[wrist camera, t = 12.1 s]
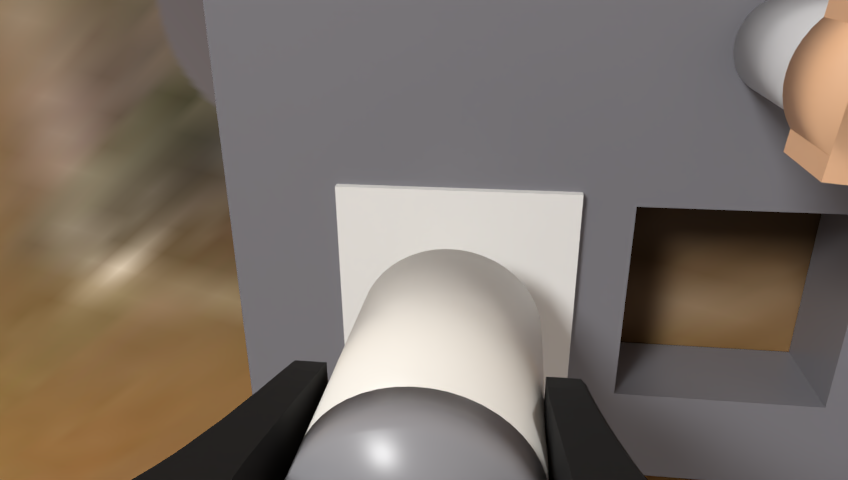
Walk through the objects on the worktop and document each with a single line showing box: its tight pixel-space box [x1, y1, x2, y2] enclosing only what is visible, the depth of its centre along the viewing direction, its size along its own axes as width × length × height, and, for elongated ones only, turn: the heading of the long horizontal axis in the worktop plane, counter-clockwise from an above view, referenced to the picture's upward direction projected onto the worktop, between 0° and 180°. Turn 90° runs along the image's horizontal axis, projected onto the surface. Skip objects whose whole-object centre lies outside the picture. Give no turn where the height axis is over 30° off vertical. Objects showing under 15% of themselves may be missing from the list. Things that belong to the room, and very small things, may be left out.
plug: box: [285, 249, 549, 480], centre depth 13 cm, size 4×4×6 cm
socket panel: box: [203, 0, 848, 480], centre depth 15 cm, size 20×13×6 cm, turn 90°
